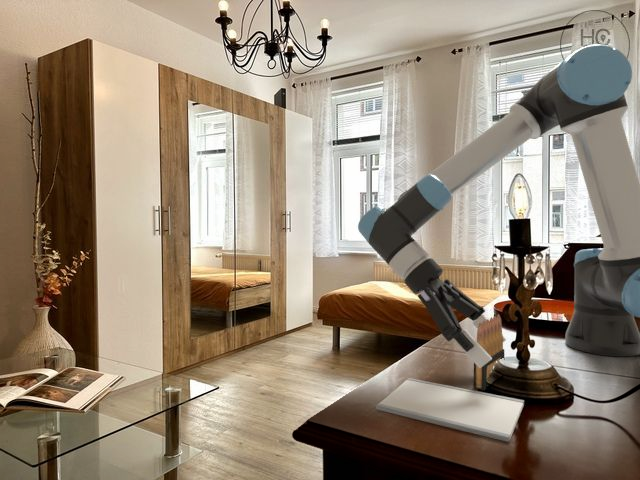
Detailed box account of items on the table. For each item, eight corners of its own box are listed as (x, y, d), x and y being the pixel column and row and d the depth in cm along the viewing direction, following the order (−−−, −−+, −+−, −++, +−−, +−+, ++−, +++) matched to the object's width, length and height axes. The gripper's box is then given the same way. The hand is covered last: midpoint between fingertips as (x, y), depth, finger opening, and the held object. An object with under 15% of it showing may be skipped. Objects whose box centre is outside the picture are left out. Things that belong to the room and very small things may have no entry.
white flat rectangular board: (524, 404, 71) (524, 400, 71) (509, 442, 59) (509, 437, 59) (408, 381, 82) (408, 377, 82) (376, 409, 70) (376, 405, 70)
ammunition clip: (483, 391, 77) (483, 324, 76) (473, 388, 78) (473, 322, 78) (504, 374, 85) (505, 313, 84) (495, 372, 86) (495, 312, 85)
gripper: (424, 274, 100) (493, 347, 93) (378, 289, 79) (461, 386, 72) (447, 251, 97) (520, 326, 89) (405, 262, 76) (495, 360, 69)
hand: (494, 353), depth 81 cm, fingers open, 13 cm apart
